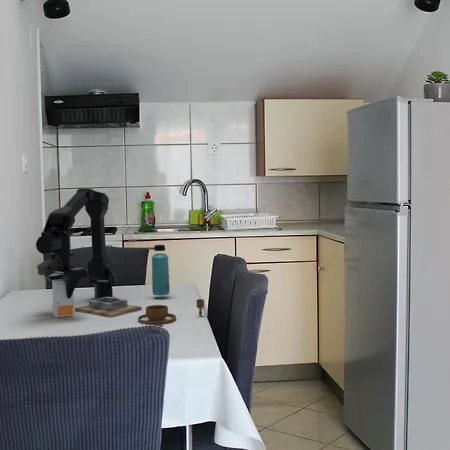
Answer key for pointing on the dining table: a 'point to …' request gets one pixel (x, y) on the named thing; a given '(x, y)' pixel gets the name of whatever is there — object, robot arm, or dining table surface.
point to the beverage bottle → (160, 272)
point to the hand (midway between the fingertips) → (63, 297)
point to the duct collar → (108, 307)
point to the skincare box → (61, 300)
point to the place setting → (163, 314)
